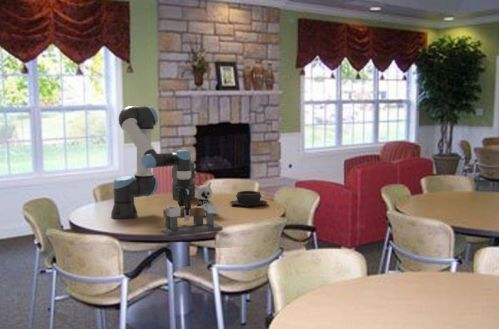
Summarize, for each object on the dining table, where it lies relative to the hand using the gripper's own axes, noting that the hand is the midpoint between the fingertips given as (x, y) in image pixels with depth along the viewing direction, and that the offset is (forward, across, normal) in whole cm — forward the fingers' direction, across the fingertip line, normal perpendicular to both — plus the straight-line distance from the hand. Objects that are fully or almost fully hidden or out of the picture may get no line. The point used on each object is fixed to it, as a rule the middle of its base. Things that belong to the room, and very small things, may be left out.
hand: (184, 219), depth 294 cm
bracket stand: (+3, -13, 0) cm, 13 cm away
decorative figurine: (+4, +23, -20) cm, 31 cm away
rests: (+3, 0, 0) cm, 3 cm away
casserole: (+4, +39, -57) cm, 69 cm away
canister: (+3, +81, -26) cm, 85 cm away
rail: (-2, 0, 0) cm, 2 cm away
